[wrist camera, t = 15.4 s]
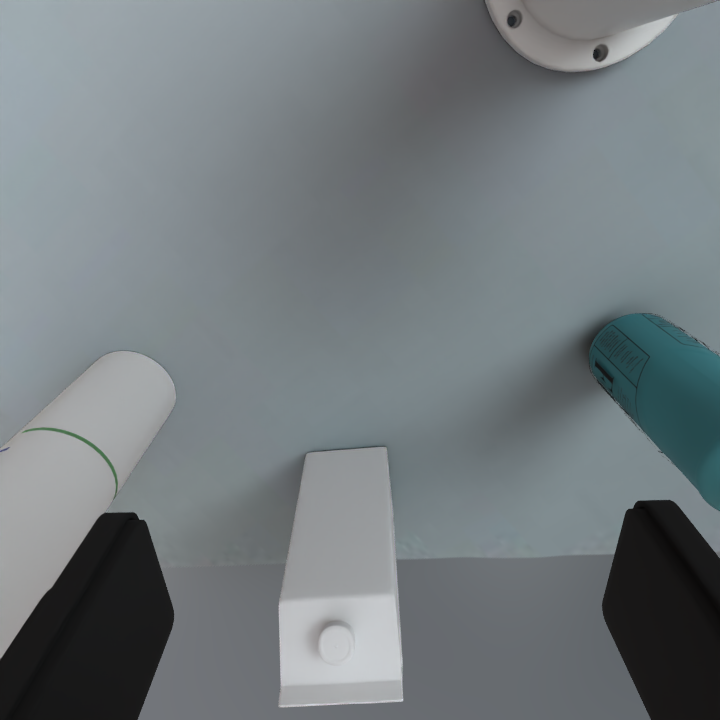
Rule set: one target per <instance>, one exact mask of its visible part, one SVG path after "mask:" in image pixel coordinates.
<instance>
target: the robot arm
mask: <svg viewBox="0 0 720 720" xmlns="http://www.w3.org/2000/svg"><path fill="white" fill-rule="evenodd" d="M716 1H719V0H485V2H486V5H487V8H488V11H489V13H490V16H491V19H492V20H493V22H494V24H495V25H496V27H497V29H498V30H499V32H500V34H501V36H502V37H503V38H504V39H505V40H506V41H507V43H508V44H509V45H510V46H511V47H512V48H513V49H514V50H515V51H516V52H517V53H518V54H520V55H521V56H523V57H524V58H526V59H527V60H529V61H530V62H532V63H534V64H536V65H539V66H541V67H544V68H547V69H549V70H555V71H562V72H581V71H591V70H596V69H600V68H604V67H607V66H609V65H612V64H614V63H617V62H619V61H622V60H624V59H626V58H628V57H630V56H631V55H633V54H635V53H636V52H638V51H639V50H641V49H643V48H644V47H646V46H647V45H648V44H649V43H650V42H652V41H653V40H654V39H655V38H656V37H657V36H659V35H660V34H661V33H662V32H663V31H664V30H665V29H666V28H667V27H668V26H669V25H670V24H671V22H672V21H673V20H674V19H675V18H676V17H677V15H678V14H679V13H682V12H685V11H688V10H691V9H694V8H697V7H700V6H704V5H707V4H710V3H713V2H716ZM509 17H513V18H514V20H515V23H514V25H513V26H509V25H508V22H507V21H508V18H509ZM594 50H597V51H598V57H597V58H596V59H594V58H593V51H594ZM602 610H603V615H604V619H605V622H606V624H607V626H608V629H609V631H610V633H611V635H612V637H613V639H614V641H615V643H616V645H617V648H618V650H619V652H620V654H621V656H622V658H623V661H624V663H625V665H626V667H627V669H628V671H629V673H630V676H631V678H632V680H633V682H634V684H635V686H636V688H637V691H638V693H639V695H640V697H641V699H642V701H643V703H644V706H645V708H646V710H647V712H648V714H649V716H650V718H651V720H720V558H719V557H718V556H717V554H716V553H715V552H714V551H713V549H712V548H711V547H710V546H709V544H708V543H707V542H706V541H705V539H704V538H703V537H702V535H701V534H700V533H699V532H698V530H697V529H696V528H695V527H694V525H693V524H692V523H691V522H690V520H689V519H688V518H687V517H686V515H685V514H684V513H683V511H682V510H681V509H680V508H679V506H678V505H677V504H676V503H675V502H673V501H671V500H650V501H637V502H636V503H635V505H634V508H633V509H628V510H627V511H626V513H625V517H624V521H623V525H622V529H621V532H620V536H619V540H618V544H617V548H616V552H615V555H614V559H613V563H612V567H611V571H610V575H609V579H608V582H607V587H606V590H605V594H604V598H603V603H602ZM173 621H174V610H173V606H172V603H171V600H170V596H169V593H168V590H167V587H166V584H165V580H164V577H163V574H162V571H161V568H160V565H159V561H158V558H157V555H156V552H155V549H154V545H153V542H152V539H151V536H150V533H149V530H148V526H147V524H146V522H145V521H144V520H139V518H138V516H137V514H135V513H133V512H127V513H104V514H102V515H100V516H99V518H98V519H97V520H96V522H95V523H94V525H93V526H92V528H91V529H90V531H89V532H88V534H87V535H86V537H85V538H84V540H83V541H82V543H81V544H80V546H79V547H78V549H77V550H76V552H75V553H74V555H73V556H72V558H71V559H70V561H69V562H68V564H67V565H66V567H65V568H64V570H63V571H62V573H61V574H60V576H59V577H58V579H57V580H56V582H55V583H54V585H53V586H52V588H51V589H49V590H48V591H47V592H46V593H45V595H44V596H43V597H42V598H41V600H40V601H39V603H38V604H37V605H36V607H35V608H34V610H33V611H32V613H31V614H30V616H29V617H28V619H27V620H26V622H25V623H24V625H23V626H22V628H21V629H20V631H19V632H18V634H17V635H16V637H15V638H14V640H13V641H12V643H11V644H10V646H9V647H8V649H7V650H6V652H5V653H4V655H3V656H2V658H1V659H0V720H137V719H138V717H139V714H140V712H141V709H142V706H143V704H144V701H145V698H146V696H147V693H148V690H149V688H150V685H151V682H152V680H153V677H154V675H155V672H156V669H157V667H158V664H159V661H160V659H161V656H162V654H163V651H164V648H165V646H166V643H167V640H168V637H169V635H170V632H171V630H172V626H173Z"/></svg>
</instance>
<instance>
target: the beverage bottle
mask: <svg viewBox="0 0 720 720" xmlns="http://www.w3.org/2000/svg"><path fill="white" fill-rule="evenodd" d="M655 315H656V314H655ZM655 315H650V313H635V314H629V315H625V316H622V317H620V318H617V319H615V320H614V321H612V322H610V323H609V324H608V325H606V326H605V327H604V328H603V329H602V330H601V331H600V332H599V333H598V335H597V336H596V337H595V339H594V341H593V343H592V345H591V348H590V353H589V367H590V366H591V369H592V372H593V374H594V375H593V376H595V377H596V379H598V380H597V381H598V384H600V385H601V386H602V387H603V386H604V387H605V388H606V389H605V388H604V387H603V390H604V391H606V392H607V393H608V394H609V395H610V396H611V398H612V399H613V400H614V401H615V400H616V401H617V402H616V401H615V402H616V403H617V404H618V403H619V404H620V405H621V406H622V407H621V406H620V405H619V404H618V405H619V407H621V408H622V409H623V410H624V411H625V412H626V413H627V414H625V415H630V416H631V421H632V419H633V420H634V421H635V422H636V423H637V424H638V425H639V426H640V428H641V429H642V430H643V432H645V433H646V434H647V435H648V437H649V438H650V439H651V440H652V441H653V442H654V443H655V444H656V445H657V447H658V448H659V449H660V450H661V451H662V452H661V453H664V454H665V455H666V456H667V457H668V458H669V459H670V460H671V461H672V462H673V463H674V464H675V466H677V468H678V469H679V470H680V471H681V472H682V473H683V474H684V475H685V476H686V478H687V479H688V480H689V481H690V482H691V483H692V484H693V485H694V486H695V487H696V489H697V490H698V491H699V493H700V494H701V496H702V497H703V499H704V500H705V501H706V502H707V503H708V504H709V505H711V506H712V507H713V508H715V509H717V510H719V511H720V357H719V356H718V354H717V355H716V354H715V353H716V352H717V351H716V352H715V353H713V352H714V351H713V352H712V351H710V350H709V348H708V347H707V348H708V349H707V348H706V347H704V346H703V345H701V344H700V342H701V341H700V342H699V343H698V342H697V341H698V340H696V339H695V338H694V339H695V340H696V341H695V340H694V339H692V336H691V337H689V336H688V335H687V334H685V333H683V332H682V331H685V330H683V329H682V328H679V327H678V329H677V328H676V326H675V327H674V326H673V324H672V323H671V324H670V323H669V322H667V321H668V320H667V321H665V320H664V319H662V318H663V317H658V316H655ZM659 316H660V315H659ZM664 318H665V317H664ZM669 321H670V320H669ZM680 329H681V330H682V331H681V330H680ZM685 332H686V331H685ZM687 333H688V332H687ZM690 335H691V334H690ZM703 344H704V343H703ZM704 345H705V344H704ZM705 346H706V345H705ZM719 354H720V353H719ZM590 371H591V370H590ZM591 374H592V373H591ZM593 378H594V377H593ZM612 396H613V397H612ZM614 398H615V399H614ZM623 410H622V411H623ZM625 412H624V413H625ZM629 419H630V418H629ZM632 423H634V422H632ZM634 425H635V423H634ZM635 426H636V425H635ZM639 430H640V429H639ZM643 432H642V433H643ZM645 433H644V434H645ZM647 439H648V438H647ZM650 443H651V442H650ZM658 452H659V451H658ZM663 457H664V456H663ZM668 461H669V460H668ZM669 462H670V461H669ZM673 463H672V464H673Z"/></svg>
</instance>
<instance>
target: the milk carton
mask: <svg viewBox="0 0 720 720" xmlns="http://www.w3.org/2000/svg"><path fill="white" fill-rule="evenodd" d="M397 582H398V581H397V565H396V549H395V533H394V517H393V504H392V495H391V485H390V475H389V465H388V456H387V448H386V447H372V448H360V449H347V450H334V451H322V452H310V453H307V454H306V457H305V462H304V468H303V473H302V479H301V484H300V490H299V495H298V501H297V506H296V512H295V517H294V523H293V528H292V534H291V539H290V545H289V550H288V556H287V561H286V567H285V572H284V578H283V584H282V589H281V596H280V601H279V635H280V670H281V689H280V696H279V702H278V705H279V707H297V706H318V705H339V704H360V703H382V702H400V701H401V702H402V701H403V689H402V674H403V661H402V646H401V629H400V613H399V597H398V583H397Z"/></svg>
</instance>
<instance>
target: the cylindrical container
mask: <svg viewBox="0 0 720 720" xmlns="http://www.w3.org/2000/svg"><path fill="white" fill-rule="evenodd" d="M175 402H176V390H175V386H174V383H173V381H172V379H171V377H170V376H169V374H168V373H167V372H166V370H165V369H164V368H163V367H162V366H161V365H160V364H158V363H157V362H155V361H154V360H153V359H151V358H149V357H147V356H145V355H142V354H139V353H136V352H130V351H116V352H111V353H108V354H106V355H104V356H102V357H101V358H99V359H98V360H97V361H96V362H95V363H93V364H92V365H91V366H90V367H89V368H88V369H87V370H86V371H85V372H84V373H83V374H81V375H80V376H79V377H78V378H77V379H76V380H75V381H74V382H73V383H72V384H70V385H69V386H68V387H67V388H66V389H65V390H64V391H63V392H62V393H61V394H59V395H58V396H57V397H56V398H55V399H54V400H53V401H52V402H51V403H50V404H49V405H47V406H46V407H45V408H44V409H43V410H42V411H41V412H40V413H39V414H38V415H36V416H35V417H34V418H33V419H32V420H31V421H30V422H29V423H28V424H27V425H26V426H24V427H23V428H22V429H21V430H20V431H19V432H18V433H17V434H16V435H15V436H14V437H12V438H11V439H10V440H9V441H8V442H7V443H6V444H5V445H4V446H3V447H1V448H0V659H1V658H2V656H3V655H4V653H5V652H6V650H7V649H8V647H9V646H10V644H11V643H12V641H13V640H14V638H15V637H16V635H17V634H18V632H19V631H20V629H21V628H22V626H23V625H24V623H25V622H26V620H27V619H28V617H29V616H30V614H31V613H32V611H33V610H34V608H35V607H36V605H37V604H38V603H39V601H40V600H41V598H42V597H43V596H44V595H45V593H46V592H47V591H48V590H49V589H51V588H52V586H53V585H54V583H55V582H56V580H57V579H58V577H59V576H60V574H61V573H62V571H63V570H64V568H65V567H66V565H67V564H68V562H69V561H70V559H71V558H72V556H73V555H74V553H75V552H76V550H77V549H78V547H79V546H80V544H81V543H82V541H83V540H84V538H85V537H86V535H87V534H88V532H89V531H90V529H91V528H92V526H93V525H94V523H95V522H96V520H97V519H98V518H99V516H100V515H102V514H104V513H105V512H106V510H107V509H108V507H109V506H110V504H111V503H112V501H113V500H114V498H115V497H116V495H117V494H118V492H119V491H120V489H121V488H122V486H123V484H124V483H125V481H126V480H127V478H128V477H129V475H130V474H131V472H132V471H133V469H134V468H135V466H136V465H137V463H138V462H139V460H140V459H141V457H142V456H143V454H144V453H145V451H146V450H147V448H148V447H149V445H150V444H151V442H152V441H153V439H154V438H155V436H156V435H157V433H158V431H159V430H160V428H161V427H162V425H163V424H164V422H165V421H166V419H167V418H168V416H169V415H170V413H171V412H172V410H173V408H174V406H175Z"/></svg>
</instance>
